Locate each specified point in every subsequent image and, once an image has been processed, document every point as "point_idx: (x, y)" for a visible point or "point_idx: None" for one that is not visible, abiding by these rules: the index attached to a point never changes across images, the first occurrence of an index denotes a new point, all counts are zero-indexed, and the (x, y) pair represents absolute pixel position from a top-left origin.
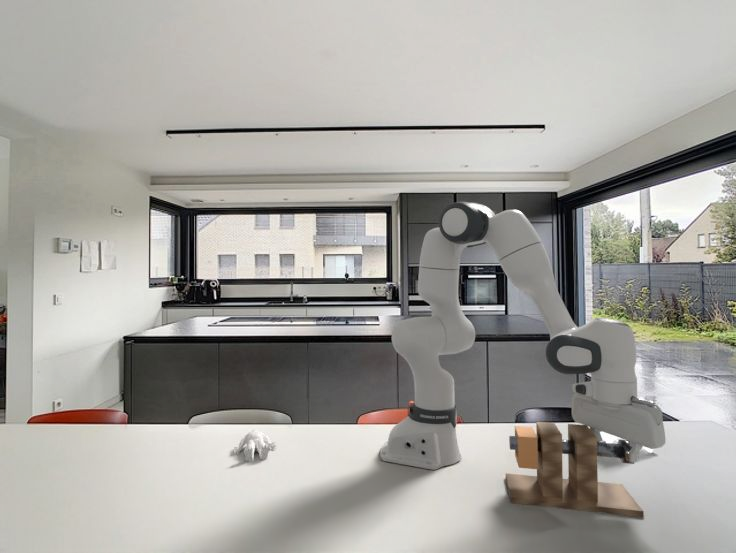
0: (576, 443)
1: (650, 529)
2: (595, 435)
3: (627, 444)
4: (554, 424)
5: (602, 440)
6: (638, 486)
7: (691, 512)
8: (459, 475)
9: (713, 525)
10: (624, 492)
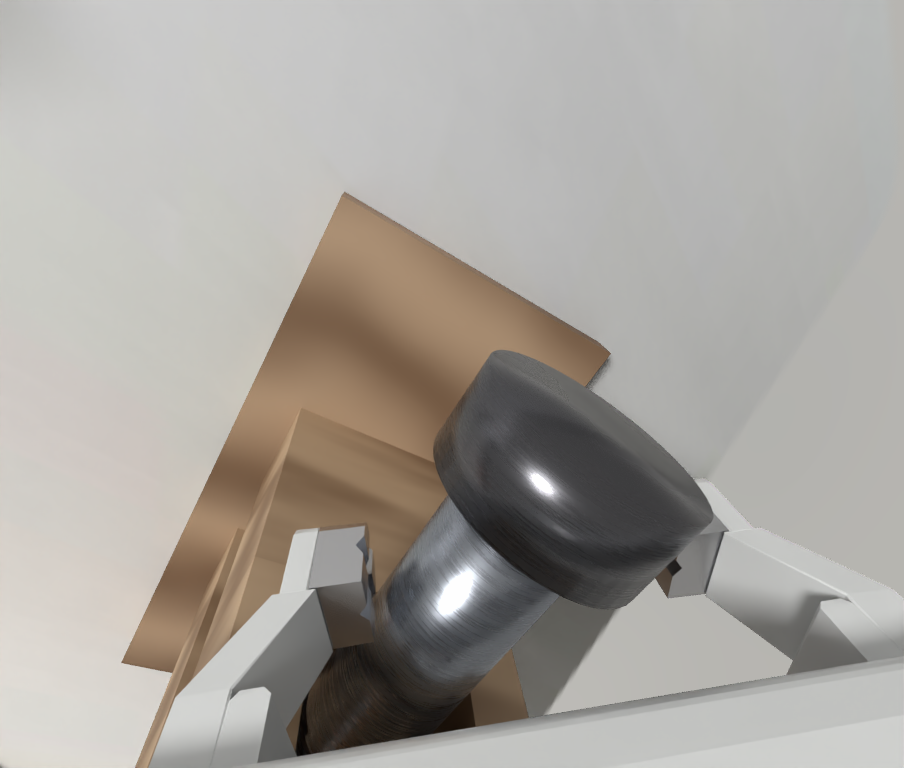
0: None
1: (663, 392)
2: (288, 703)
3: (658, 571)
4: None
5: (328, 596)
6: (330, 12)
7: (701, 23)
8: (95, 751)
9: (821, 57)
10: (437, 280)
